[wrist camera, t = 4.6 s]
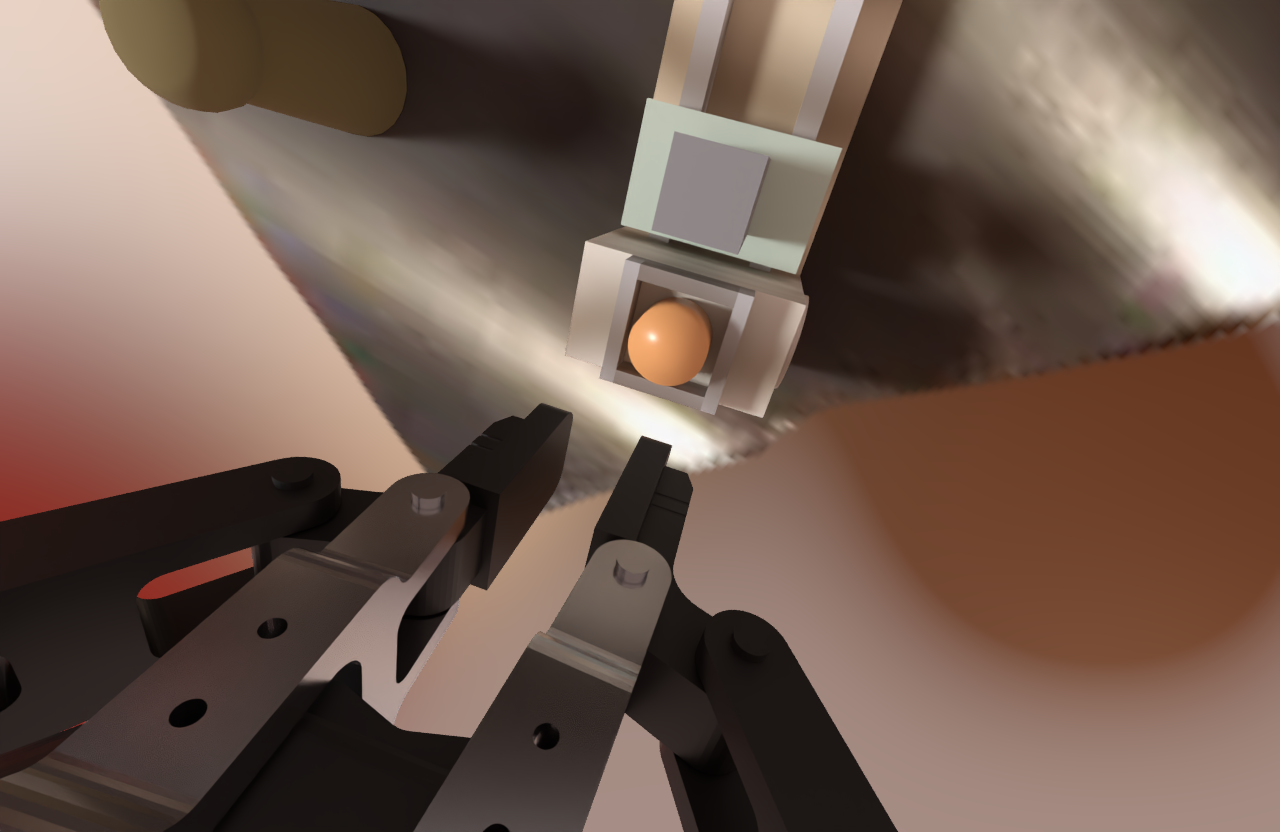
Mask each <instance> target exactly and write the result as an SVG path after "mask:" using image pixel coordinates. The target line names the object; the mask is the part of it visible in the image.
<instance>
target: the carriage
mask: <svg viewBox="0 0 1280 832" xmlns="http://www.w3.org/2000/svg"><path fill="white" fill-rule="evenodd" d="M841 150H842V148H839V147H835V146H831V145H827V144H823V143H820V142H816V141H812V140H808V139H804V138H800V137H796V136H793V135H789V134H785V133H781V132H777V131H773V130H769V129H766V128H762V127H758V126H754V125H750V124H746V123H742V122H739V121H735V120H731V119H727V118H723V117H719V116H715V115H712V114H708V113H704V112H700V111H696V110H692V109H688V108H684V107H681V106H677V105H673V104H669V103H665V102H661V101H657V100H654V99H650V98H647V102H646V107H645V111H644V116H643V121H642V126H641V131H640V135H639V140H638V145H637V150H636V155H635V159H634V164H633V169H632V174H631V179H630V183H629V188H628V193H627V198H626V203H625V207H624V212H623V217H622V222H621V225H625V226H628V227H632V228H635V229H639V230H642V231H646V232H649V233H653V234H656V235H660V236H663V237H667V238H670V239H674V240H677V241H681V242H684V243H688V244H691V245H695V246H698V247H702V248H705V249H709V250H712V251H715V252H719V253H722V254H726V255H729V256H733V257H736V258H740V259H743V260H747V261H750V262H754V263H757V264H761V265H764V266H768V267H771V268H775V269H778V270H782V271H785V272H789V273H792V274H796V272H797V270H798V267H799V264H800V261H801V259H802V256H803V253H804V251H805V248H806V245H807V243H808V240H809V237H810V234H811V232H812V229H813V226H814V224H815V221H816V218H817V215H818V213H819V210H820V207H821V205H822V202H823V199H824V196H825V194H826V191H827V188H828V186H829V183H830V180H831V177H832V175H833V172H834V169H835V167H836V164H837V161H838V158H839V156H840V153H841Z"/></svg>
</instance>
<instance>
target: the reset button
mask: <svg viewBox="0 0 1280 832" xmlns="http://www.w3.org/2000/svg"><path fill="white" fill-rule="evenodd" d="M712 337H713V331H712V325H711V322H710V320H709V317H708V316H707V314H706V313H705V311H704V310H703V309H702V308H701V307H700V306H699V305H697V304H696V303H694V302H692V301H691V300H688V299H685V298H680V297H670V298H665V299H662V300H660V301H658V302H656V303H655V304H653V305H652V306H651V307H650V308H649V309H648V310H647V311H646V312H645V313H644V314H643V315H642V316H641V317H640V319H639V320H638V321H637V322H636V323H635V325H634V326H633V328H632V330H631V332H630V335H629V339H628V352H629V356H630V359H631V362H632V364H633V365H634V367H635V368H636V370H637V371H638V372H639V373H640V374H641V375H642V376H643V377H644V378H646V379H647V380H649V381H651V382H653V383H655V384H659V385H663V386H675V385H680V384H683V383H686V382H688V381H689V380H691V379H692V378H694V377H695V376H696V375H697V374H698V373H699V371H700V370H701V368H702V367H703V365H704V362H705V360H706V357H707V354H708V352H709V349H710V346H711V343H712Z"/></svg>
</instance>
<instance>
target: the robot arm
mask: <svg viewBox="0 0 1280 832" xmlns="http://www.w3.org/2000/svg"><path fill="white" fill-rule="evenodd" d="M572 421H573V414H572V413H571V412H568V411H565V410H562V409H559V408H556V407H553V406H550V405H547V404H544V403H541V404H539V405H538V406H537V407H536V408H535V409H534V410H533V411H532V412H531V413H530V414H529V415H528V416H527V417H526V418H525V419H522V418H519V417H516V416H511V417H508V418H505V419H502V420H500V421H497V422H494V423H493V424H492V425H491V426H490V427H489V428H487V429H486V430H485V431H484V432H483V433H482V435H481V436H479V437H477V438H476V439H475V440H474V441H473V442H472V444H471V445H469V446H467V447H466V448H465V449H464V450H463V451H462V452H461V453H460V454H459V455H457V456H456V457H455V458H454V459H453V460H452V461H451V462H450V463H448V464H447V465H446V466H445V467H444V468H443V469H442V470H441V471H440V472H438V473H420V474H414V475H411V476H407V477H405V478H402V479H400V480H398V481H397V482H395V483H394V484H393V485H391V487H389V488H388V489H387V490H386V491H385V492H384V493H383V492H372V491H363V490H353V489H344V488H341V478H340V473H339V471H338V469H337V468H336V467H335V466H334V465H332V464H330V463H328V462H326V461H324V460H320V459H316V458H310V457H290V458H283V459H278V460H273V461H269V462H265V463H260V464H256V465H251V466H247V467H242V468H238V469H233V470H229V471H225V472H220V473H215V474H211V475H207V476H203V477H198V478H193V479H189V480H184V481H180V482H176V483H171V484H166V485H162V486H158V487H153V488H149V489H144V490H140V491H136V492H131V493H126V494H122V495H118V496H113V497H109V498H104V499H100V500H95V501H91V502H87V503H82V504H77V505H73V506H68V507H64V508H59V509H55V510H51V511H46V512H42V513H37V514H33V515H28V516H24V517H19V518H15V519H10V520H6V521H2V522H0V832H582V831H583V828H584V825H585V823H586V820H587V817H588V814H589V811H590V809H591V806H592V803H593V800H594V797H595V795H596V792H597V789H598V786H599V783H600V781H601V777H602V775H603V772H604V769H605V766H606V764H607V761H608V758H609V755H610V752H611V749H612V747H613V744H614V741H615V738H616V736H617V733H618V730H619V727H620V724H621V721H622V719H623V716H624V713H626V714H627V715H628V716H629V717H631V718H632V719H633V720H635V721H636V722H637V723H638V724H639V725H641V726H642V727H643V728H644V729H646V730H647V731H648V732H649V733H651V734H652V735H653V736H654V737H656V738H657V739H658V740H659V741H660V753H661V758H662V761H663V764H664V768H665V770H666V774H667V777H668V781H669V784H670V787H671V791H672V794H673V797H674V801H675V804H676V807H677V810H678V814H679V816H680V820H681V824H682V827H683V830H684V832H898V831H897V829H896V828H895V826H894V824H893V823H892V821H891V819H890V818H889V816H888V814H887V812H886V811H885V809H884V807H883V806H882V804H881V802H880V801H879V799H878V797H877V796H876V794H875V792H874V791H873V789H872V787H871V785H870V784H869V782H868V780H867V778H866V777H865V775H864V774H863V772H862V770H861V768H860V767H859V765H858V763H857V761H856V760H855V758H854V756H853V755H852V753H851V751H850V750H849V748H848V746H847V744H846V743H845V741H844V739H843V738H842V736H841V734H840V733H839V731H838V729H837V727H836V726H835V724H834V722H833V721H832V719H831V717H830V716H829V714H828V712H827V710H826V709H825V707H824V705H823V704H822V702H821V700H820V699H819V697H818V695H817V693H816V692H815V690H814V688H813V687H812V685H811V683H810V682H809V680H808V678H807V677H806V675H805V673H804V672H803V670H802V668H801V666H800V665H799V663H798V661H797V659H796V658H795V656H794V655H793V653H792V651H791V649H790V648H789V646H788V644H787V642H786V641H785V640H784V638H783V637H782V635H781V634H780V633H779V632H778V631H777V630H776V629H775V628H774V627H773V626H772V625H770V624H769V623H768V622H766V621H765V620H764V619H762V618H760V617H758V616H756V615H754V614H751V613H748V612H744V611H740V610H726V611H722V612H719V613H717V614H716V615H714V616H713V617H712V616H711V615H709V614H708V613H706V612H704V611H703V610H702V609H700V608H698V607H697V606H696V605H695V604H693V603H691V601H690V600H689V599H687V598H686V597H685V595H684V594H683V593H682V592H681V590H680V589H679V587H678V586H677V583H676V581H675V578H674V575H673V565H674V560H675V557H676V553H677V549H678V545H679V541H680V537H681V534H682V530H683V526H684V522H685V518H686V515H687V511H688V507H689V503H690V499H691V495H692V492H693V487H692V484H691V482H690V479H689V476H688V474H687V473H685V472H682V471H679V470H676V469H673V468H670V467H666V464H667V461H668V458H669V455H670V451H671V448H672V445H669V444H666V443H663V442H660V441H657V440H654V439H651V438H648V437H644V436H641V438H640V440H639V442H638V444H637V446H636V448H635V449H634V451H633V453H632V455H631V457H630V459H629V461H628V463H627V465H626V467H625V469H624V471H623V473H622V475H621V477H620V479H619V481H618V483H617V485H616V487H615V489H614V491H613V493H612V495H611V497H610V499H609V501H608V503H607V505H606V507H605V509H604V511H603V512H602V514H601V517H600V518H599V521H598V523H597V524H596V526H595V529H594V533H593V538H592V541H591V545H590V549H589V553H588V557H587V561H586V565H585V569H584V571H583V573H582V575H581V576H580V578H579V580H578V581H577V583H576V585H575V586H574V588H573V590H572V591H571V593H570V595H569V597H568V598H567V600H566V602H565V603H564V605H563V607H562V608H561V610H560V612H559V613H558V615H557V617H556V618H555V620H554V622H553V624H552V625H551V627H550V629H549V630H548V632H547V633H546V634H545V633H543V632H538V633H537V634H536V635H535V636H534V637H533V639H532V640H531V642H530V643H529V645H528V646H527V648H526V649H525V651H524V653H523V654H522V656H521V658H520V659H519V661H518V662H517V664H516V666H515V668H514V669H513V671H512V672H511V674H510V676H509V677H508V679H507V680H506V682H505V684H504V685H503V687H502V688H501V690H500V692H499V693H498V695H497V697H496V698H495V700H494V702H493V703H492V705H491V706H490V708H489V710H488V711H487V713H486V715H485V716H484V718H483V719H482V721H481V723H480V724H479V726H478V728H477V729H476V731H475V733H474V734H473V736H472V737H471V738H466V737H457V736H449V735H440V734H429V733H421V732H412V731H405V730H402V729H399V728H397V727H396V726H394V723H395V720H396V716H397V714H398V711H399V708H400V706H401V704H402V702H403V700H404V698H405V696H406V694H407V693H408V691H409V689H410V688H411V686H412V685H413V683H414V681H415V680H416V678H417V677H418V675H419V673H420V672H421V670H422V669H423V667H424V665H425V664H426V662H427V661H428V659H429V657H430V656H431V654H432V653H433V651H434V649H435V648H436V646H437V645H438V643H439V641H440V640H441V638H442V636H443V635H444V633H445V632H446V630H447V628H448V627H449V625H450V624H451V622H452V620H453V618H454V617H455V615H456V613H457V611H458V606H459V598H460V597H461V596H462V594H463V593H464V592H465V590H466V589H467V587H468V586H469V585H470V584H471V585H474V586H476V587H479V588H482V589H485V590H487V589H488V588H489V586H490V585H491V583H492V582H493V580H494V579H495V578H496V576H497V575H498V573H499V572H500V570H501V569H502V568H503V566H504V565H505V563H506V562H507V560H508V559H509V557H510V556H511V555H512V553H513V552H514V550H515V548H516V547H517V546H518V544H519V543H520V541H521V540H522V539H523V537H524V536H525V534H526V533H527V531H528V530H529V528H530V527H531V525H532V524H533V523H534V521H535V520H536V518H537V517H538V515H539V514H540V512H541V511H542V509H543V508H544V507H545V505H546V504H547V502H548V501H549V499H550V498H551V496H552V495H553V493H554V492H555V490H556V488H557V485H558V483H559V480H560V478H561V474H562V471H563V466H564V461H565V456H566V451H567V446H568V441H569V436H570V431H571V426H572ZM249 547H251V551H252V558H253V565H254V567H251V568H248V569H245V570H243V571H239V572H237V573H234V574H230V575H227V576H224V577H222V578H219V579H216V580H213V581H210V582H207V583H204V584H201V585H198V586H195V587H192V588H189V589H186V590H183V591H180V592H177V593H174V594H171V595H168V596H166V597H162V598H158V599H141V598H138V597H137V595H138V593H139V592H140V590H141V588H143V587H144V586H145V585H146V584H147V583H149V582H150V581H152V580H153V579H155V578H157V577H159V576H161V575H164V574H167V573H170V572H173V571H176V570H180V569H183V568H186V567H189V566H192V565H195V564H199V563H202V562H205V561H208V560H211V559H214V558H218V557H221V556H224V555H227V554H230V553H233V552H236V551H240V550H243V549H246V548H249ZM87 720H88V721H87ZM84 721H87V722H85V723H84V724H81V725H79V726H76V725H77V724H80V723H82V722H84ZM73 726H76V727H74V728H71V727H73ZM69 728H70V729H69ZM66 729H68V730H66ZM64 730H65V731H64ZM59 732H60V733H59Z"/></svg>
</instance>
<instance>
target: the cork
mask: <svg viewBox="0 0 1280 832" xmlns="http://www.w3.org/2000/svg"><path fill="white" fill-rule="evenodd" d="M99 3H100V10H101V14H102V18H103V22H104V26H105V30H106V32H107V34H108V37H109V39H110V41H111V43H112V45H113V48H114V50H115V52H116V53H117V55H118V56H119V57H120V59H121V60H122V62H123V63H124V65H125V66H126V68H127V69H128V70H129V71H130V72H131V73H132V74H133V75H134V76H135V77H136V78H137V79H138V80H139V81H140V82H141V83H142V84H143V85H144V86H146V87H147V88H148V89H150V90H151V91H152V92H154V93H155V94H157V95H159V96H161V97H162V98H164V99H166V100H168V101H169V102H171V103H173V104H176V105H179V106H181V107H184V108H187V109H193V110H198V111H204V112H216V113H218V112H222V111H227V110H231V109H235V108H238V107H242V106H244V105H245V104H246V103H247V104H250V105H254V106H257V107H261V108H264V109H268V110H271V111H275V112H278V113H282V114H285V115H289V116H292V117H296V118H299V119H303V120H306V121H310V122H313V123H317V124H320V125H324V126H327V127H331V128H334V129H338V130H341V131H345V132H348V133H352V134H356V135H362V136H367V137H369V136H373V135H377V134H382V133H383V132H385V131H386V130H387V129H389V128H390V127H391V126H393V125H394V124H395V122H396V120H397V119H398V117H399V115H400V114H401V112H402V110H403V106H404V102H405V97H406V93H407V82H406V68H405V65H404V61H403V58H402V54H401V51H400V48H399V46H398V44H397V43H396V41H395V39H394V37H393V35H392V33H391V32H390V30H389V29H388V28H387V27H386V26H385V24H384V23H383V22H382V21H381V20H380V19H379V18H378V17H377V16H376V15H375V14H373V13H372V12H370V11H368V10H366V9H365V8H363V7H361V6H359V5H354V4H348V3H342V2H336V1H330V0H99Z"/></svg>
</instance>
